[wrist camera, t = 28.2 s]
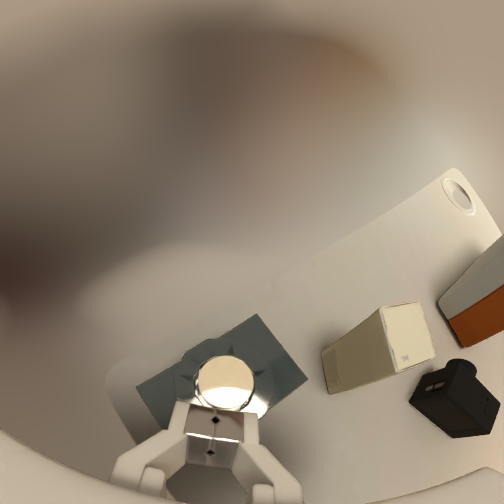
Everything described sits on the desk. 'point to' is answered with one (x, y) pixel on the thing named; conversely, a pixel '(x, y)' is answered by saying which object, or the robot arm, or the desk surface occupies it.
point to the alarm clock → (478, 298)
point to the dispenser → (235, 345)
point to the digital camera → (456, 400)
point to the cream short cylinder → (225, 382)
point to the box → (379, 348)
